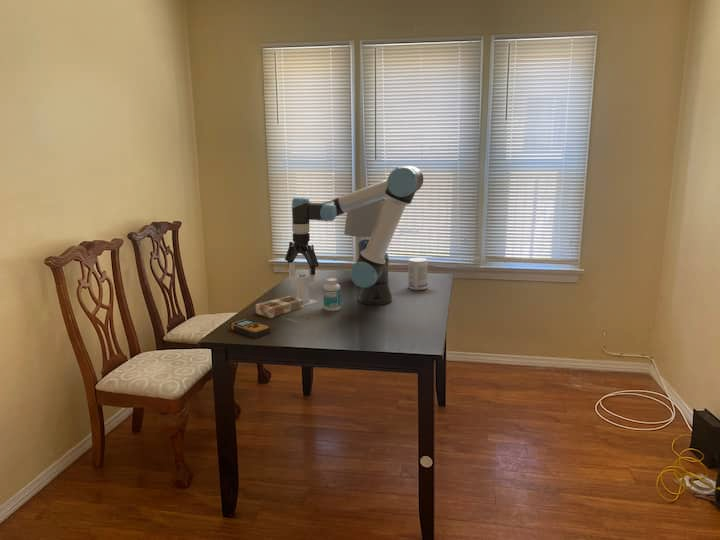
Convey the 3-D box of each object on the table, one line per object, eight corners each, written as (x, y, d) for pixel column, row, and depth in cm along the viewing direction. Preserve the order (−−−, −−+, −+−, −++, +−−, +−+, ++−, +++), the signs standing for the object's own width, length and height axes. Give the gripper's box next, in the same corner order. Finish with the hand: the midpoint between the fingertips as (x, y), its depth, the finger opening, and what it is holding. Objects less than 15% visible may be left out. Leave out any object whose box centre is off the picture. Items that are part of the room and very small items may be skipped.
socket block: (303, 308, 228) (303, 299, 227) (270, 318, 215) (270, 308, 214) (288, 304, 235) (288, 295, 234) (256, 313, 222) (255, 303, 221)
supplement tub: (427, 286, 265) (428, 257, 262) (426, 290, 256) (427, 261, 253) (408, 285, 267) (409, 257, 264) (407, 290, 258) (407, 261, 254)
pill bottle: (333, 305, 232) (332, 276, 229) (344, 309, 227) (343, 279, 224) (320, 309, 227) (319, 279, 224) (331, 312, 222) (330, 282, 219)
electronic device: (254, 340, 192) (254, 331, 191) (229, 330, 202) (228, 322, 201) (272, 334, 198) (271, 325, 197) (246, 325, 208) (246, 317, 207)
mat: (318, 302, 237) (318, 301, 237) (302, 307, 230) (302, 306, 230) (304, 298, 244) (304, 297, 244) (287, 302, 237) (287, 301, 237)
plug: (309, 301, 237) (308, 274, 234) (302, 303, 234) (301, 276, 231) (303, 299, 240) (302, 273, 237) (297, 301, 237) (296, 274, 234)
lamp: (348, 273, 292) (348, 197, 283) (393, 274, 289) (394, 197, 279) (341, 284, 268) (339, 201, 258) (389, 286, 265) (390, 202, 255)
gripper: (326, 235, 224) (326, 282, 229) (289, 228, 241) (290, 273, 245) (313, 237, 219) (314, 285, 224) (276, 230, 235) (277, 275, 240)
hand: (301, 279), depth 235 cm, fingers open, 13 cm apart
